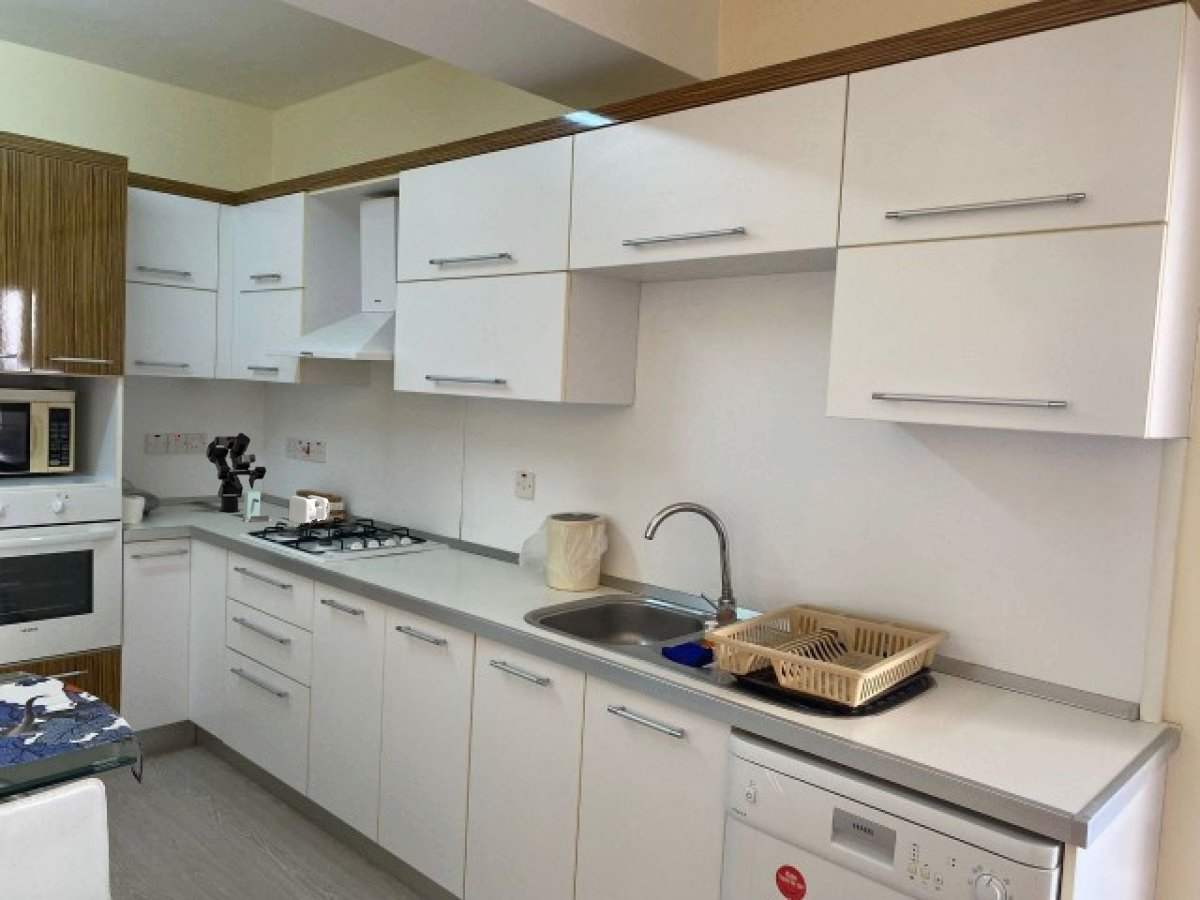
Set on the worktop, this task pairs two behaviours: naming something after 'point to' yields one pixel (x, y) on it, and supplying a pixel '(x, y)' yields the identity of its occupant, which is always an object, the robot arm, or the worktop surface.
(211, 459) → the robot arm
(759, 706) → the worktop surface
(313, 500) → the cable organizer
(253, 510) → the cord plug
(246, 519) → the comb rail
